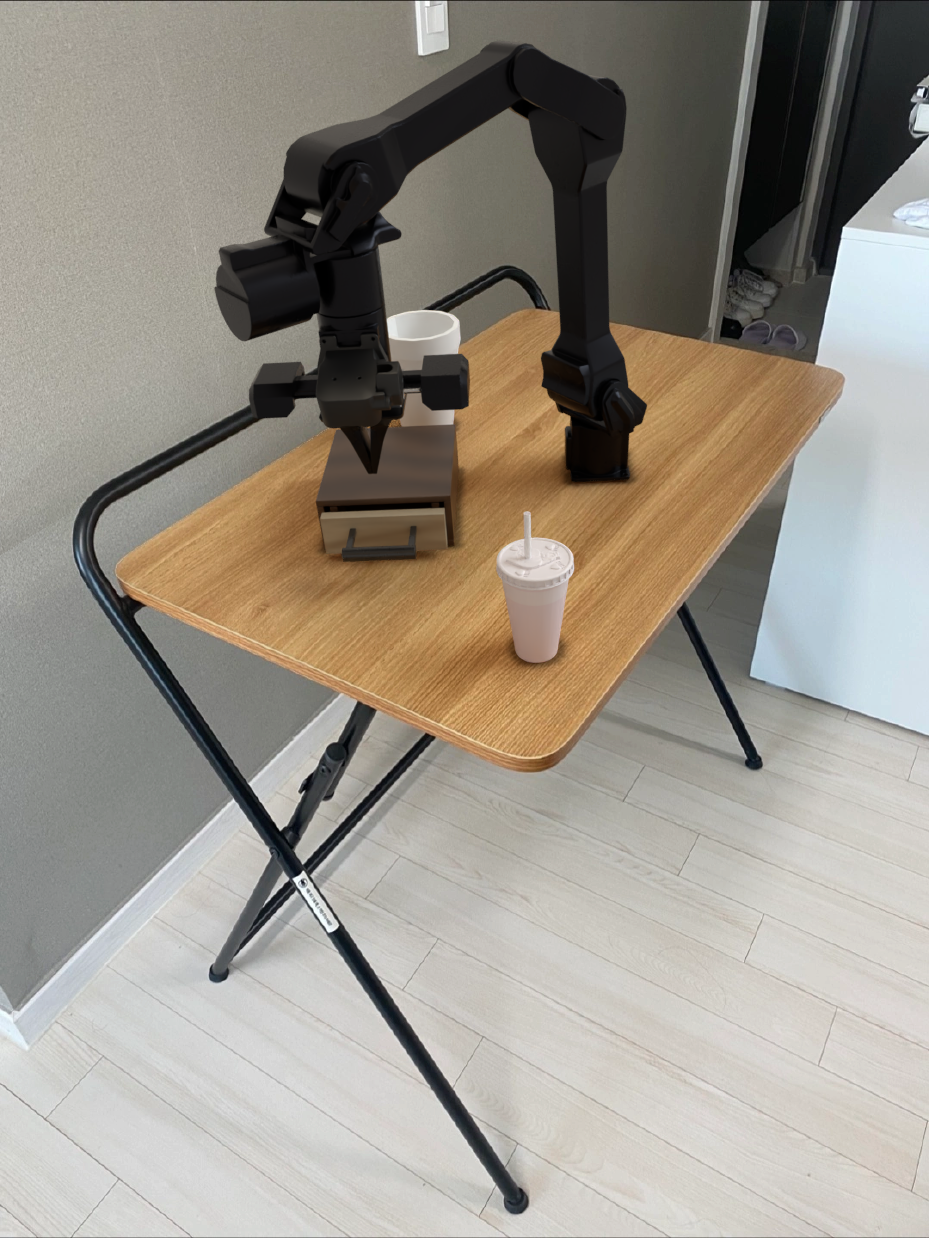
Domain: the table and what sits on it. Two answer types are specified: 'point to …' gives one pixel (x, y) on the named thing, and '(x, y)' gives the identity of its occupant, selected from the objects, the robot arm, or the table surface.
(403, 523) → the drawer
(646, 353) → the table surface
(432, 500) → the cabinet
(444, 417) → the foam cup
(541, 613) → the smoothie
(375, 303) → the robot arm
